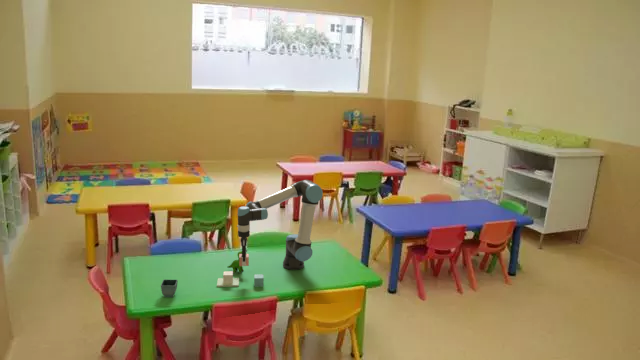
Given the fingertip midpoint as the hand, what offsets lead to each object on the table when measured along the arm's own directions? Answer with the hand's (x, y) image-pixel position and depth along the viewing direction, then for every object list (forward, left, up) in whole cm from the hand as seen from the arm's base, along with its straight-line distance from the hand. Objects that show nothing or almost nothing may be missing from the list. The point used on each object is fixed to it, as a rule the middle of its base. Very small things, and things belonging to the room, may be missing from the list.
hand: (244, 263), depth 353 cm
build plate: (+10, +2, -13) cm, 17 cm away
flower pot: (+45, +19, -13) cm, 51 cm away
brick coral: (0, 0, 0) cm, 0 cm away
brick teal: (-10, +5, -13) cm, 17 cm away
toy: (+5, -17, -13) cm, 22 cm away
